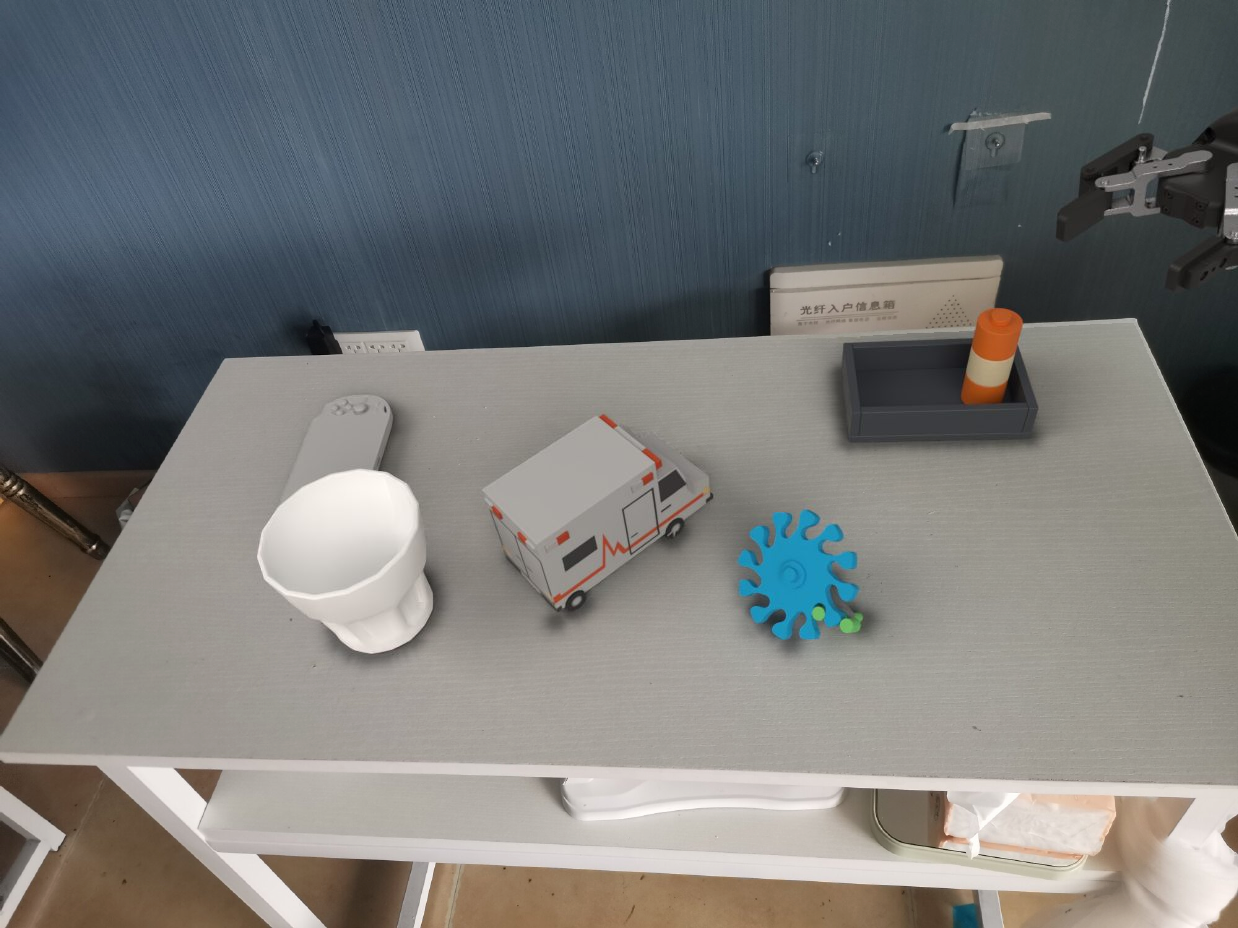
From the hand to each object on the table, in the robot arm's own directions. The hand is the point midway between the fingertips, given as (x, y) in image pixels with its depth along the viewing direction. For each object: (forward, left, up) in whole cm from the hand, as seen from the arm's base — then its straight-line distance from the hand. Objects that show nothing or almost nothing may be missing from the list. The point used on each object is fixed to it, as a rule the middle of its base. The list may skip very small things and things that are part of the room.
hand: (1113, 254), depth 58 cm
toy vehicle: (+27, +24, -24) cm, 43 cm away
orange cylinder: (+8, -7, -23) cm, 25 cm away
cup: (+38, +41, -24) cm, 61 cm away
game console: (+54, +33, -24) cm, 68 cm away
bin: (+12, -5, -23) cm, 27 cm away
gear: (+10, +21, -24) cm, 33 cm away
